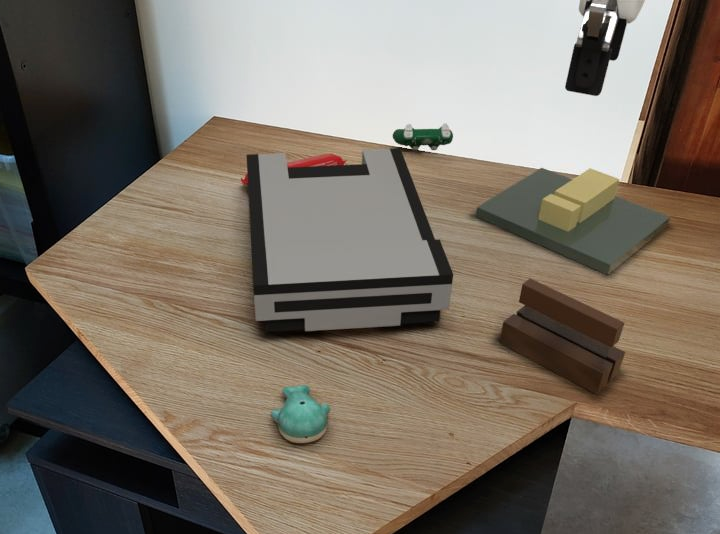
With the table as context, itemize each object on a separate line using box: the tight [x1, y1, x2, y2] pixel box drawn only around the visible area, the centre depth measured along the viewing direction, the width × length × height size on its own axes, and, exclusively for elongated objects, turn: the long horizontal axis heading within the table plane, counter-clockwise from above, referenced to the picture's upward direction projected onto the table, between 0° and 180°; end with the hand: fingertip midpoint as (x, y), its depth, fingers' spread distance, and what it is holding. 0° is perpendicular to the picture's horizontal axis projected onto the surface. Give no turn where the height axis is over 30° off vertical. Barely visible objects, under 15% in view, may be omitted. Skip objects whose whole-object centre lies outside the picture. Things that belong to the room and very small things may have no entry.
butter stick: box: [554, 168, 620, 223], centre depth 104 cm, size 4×9×3 cm, turn 136°
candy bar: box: [240, 153, 348, 186], centre depth 112 cm, size 16×4×3 cm, turn 118°
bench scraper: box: [518, 278, 625, 360], centre depth 81 cm, size 11×2×7 cm, turn 46°
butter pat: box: [538, 194, 581, 232], centre depth 101 cm, size 4×2×3 cm, turn 46°
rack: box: [498, 305, 626, 395], centre depth 83 cm, size 12×5×3 cm, turn 46°
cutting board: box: [475, 167, 671, 276], centre depth 104 cm, size 20×16×2 cm
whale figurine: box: [270, 384, 331, 444], centre depth 75 cm, size 6×7×4 cm
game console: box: [245, 147, 454, 335], centre depth 95 cm, size 21×32×8 cm, turn 6°
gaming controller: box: [392, 122, 454, 151], centre depth 120 cm, size 9×4×6 cm
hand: (592, 74), depth 74 cm, fingers open, 9 cm apart
